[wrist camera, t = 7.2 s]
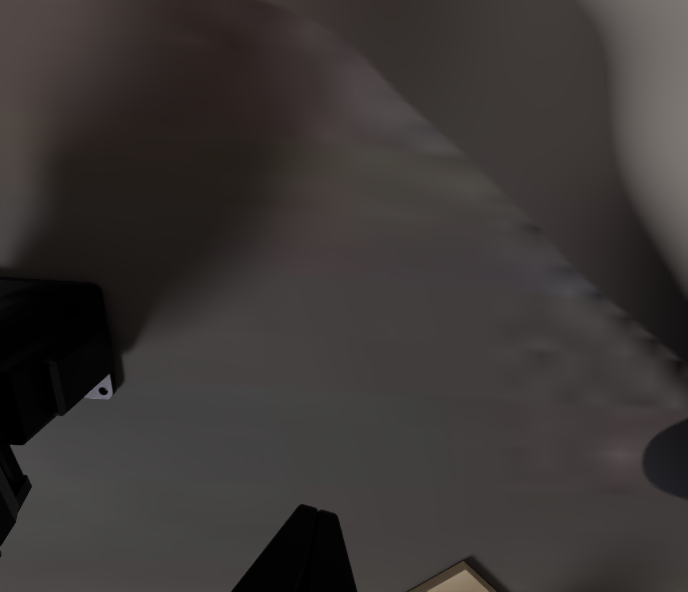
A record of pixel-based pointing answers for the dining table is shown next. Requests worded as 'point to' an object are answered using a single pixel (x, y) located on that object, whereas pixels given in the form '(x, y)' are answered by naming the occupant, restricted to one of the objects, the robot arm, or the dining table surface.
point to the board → (456, 581)
